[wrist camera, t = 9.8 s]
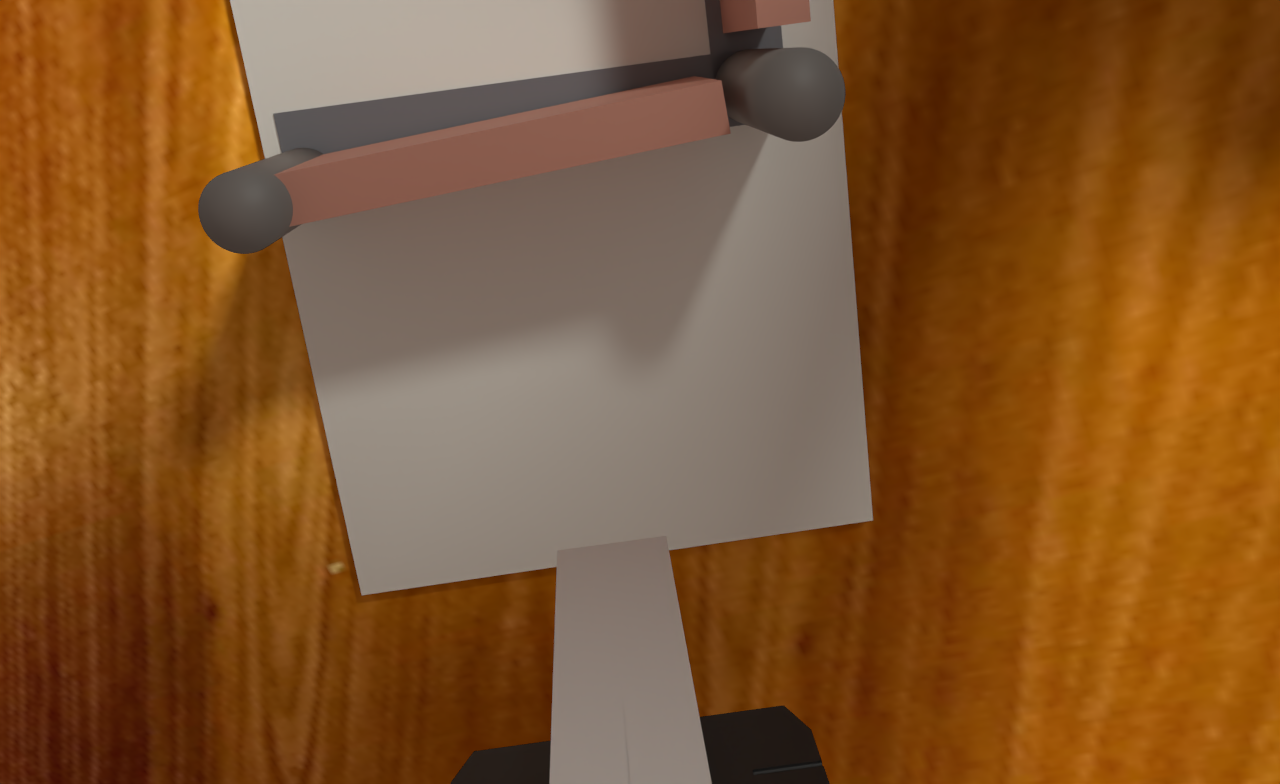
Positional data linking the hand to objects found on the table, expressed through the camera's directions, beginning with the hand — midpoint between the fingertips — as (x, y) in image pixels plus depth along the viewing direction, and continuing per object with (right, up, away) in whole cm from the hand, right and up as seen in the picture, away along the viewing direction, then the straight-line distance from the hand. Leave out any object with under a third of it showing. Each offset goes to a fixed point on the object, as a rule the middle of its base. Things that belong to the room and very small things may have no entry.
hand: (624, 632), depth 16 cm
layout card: (-2, +12, +16) cm, 20 cm away
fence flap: (-4, +10, +16) cm, 19 cm away
